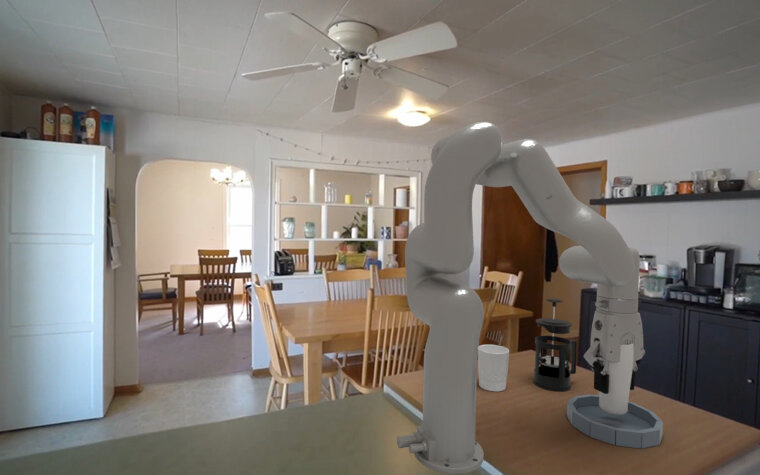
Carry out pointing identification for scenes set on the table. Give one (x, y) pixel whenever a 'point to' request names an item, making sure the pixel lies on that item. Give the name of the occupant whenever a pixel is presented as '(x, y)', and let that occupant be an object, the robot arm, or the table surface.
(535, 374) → the french press
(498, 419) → the table surface
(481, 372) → the white cup
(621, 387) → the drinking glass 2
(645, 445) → the bowl
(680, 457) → the table surface
